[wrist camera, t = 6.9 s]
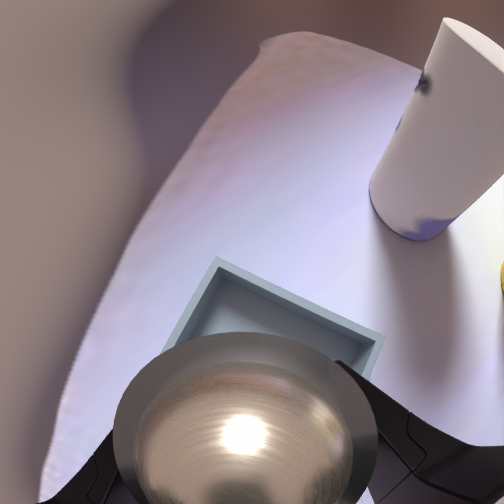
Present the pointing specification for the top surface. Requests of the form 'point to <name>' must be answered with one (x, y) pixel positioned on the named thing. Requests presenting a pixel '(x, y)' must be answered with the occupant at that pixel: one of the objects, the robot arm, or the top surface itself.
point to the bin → (272, 317)
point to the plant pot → (502, 276)
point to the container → (444, 137)
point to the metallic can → (244, 425)
